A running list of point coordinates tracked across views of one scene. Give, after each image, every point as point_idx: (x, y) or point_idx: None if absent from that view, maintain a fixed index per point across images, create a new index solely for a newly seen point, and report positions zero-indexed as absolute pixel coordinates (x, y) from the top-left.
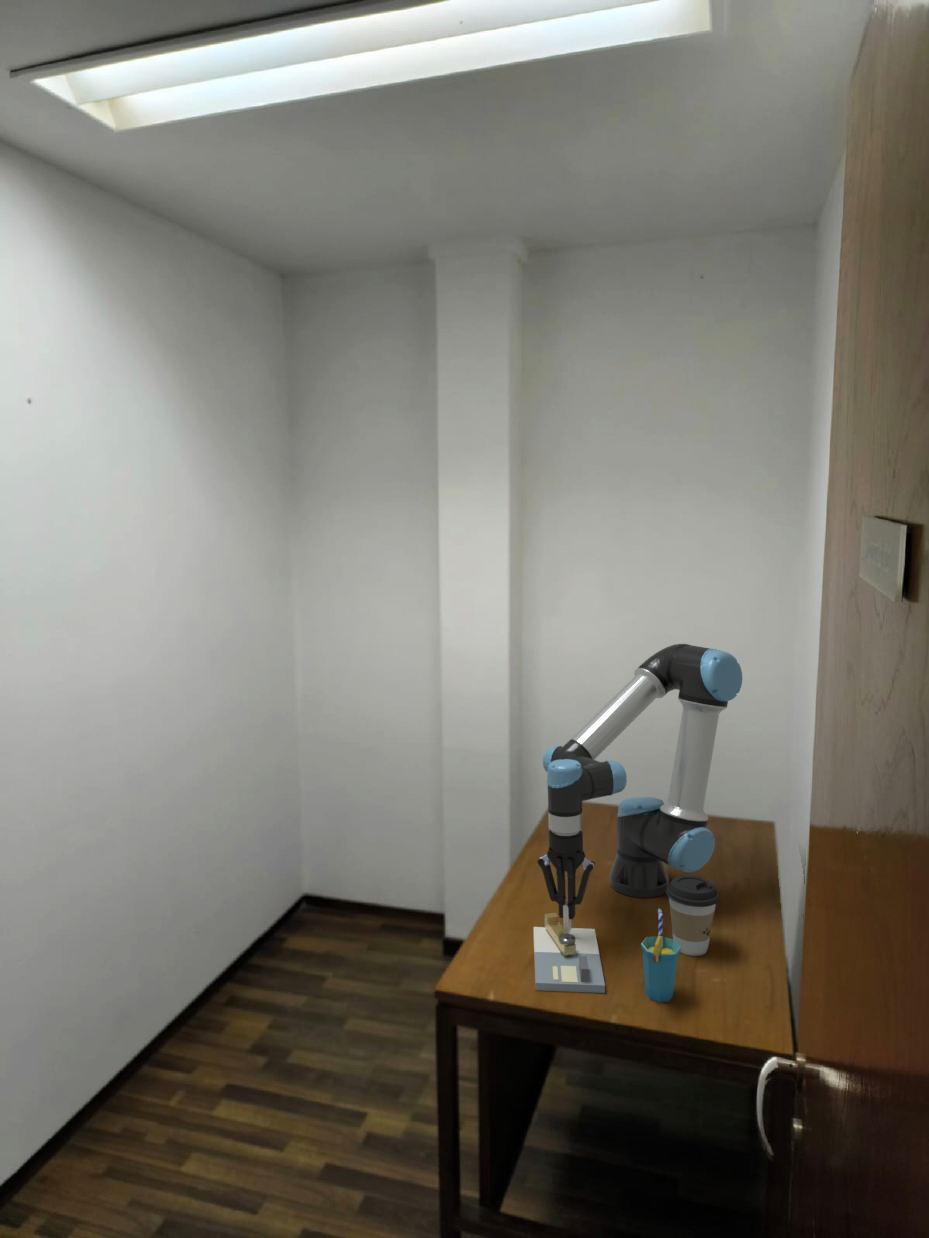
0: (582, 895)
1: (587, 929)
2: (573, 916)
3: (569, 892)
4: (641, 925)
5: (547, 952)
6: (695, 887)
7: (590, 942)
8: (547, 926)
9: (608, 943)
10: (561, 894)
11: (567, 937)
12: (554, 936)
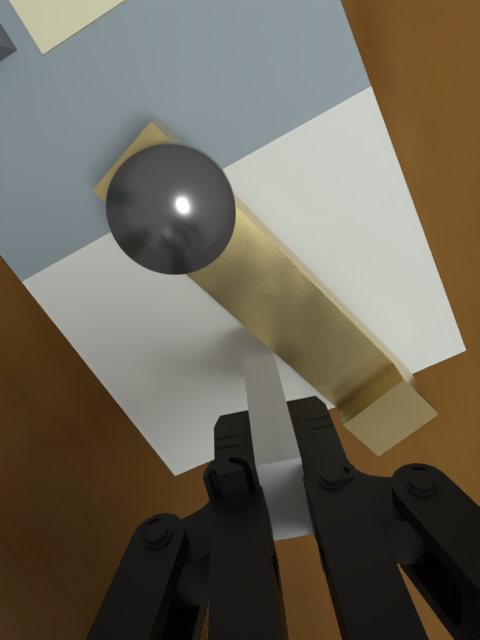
0: (100, 618)
1: (201, 456)
2: (217, 430)
3: (254, 606)
4: (58, 588)
5: (289, 127)
6: None
7: (126, 361)
8: (384, 348)
9: (91, 426)
10: (344, 552)
11: (169, 218)
12: (299, 264)
